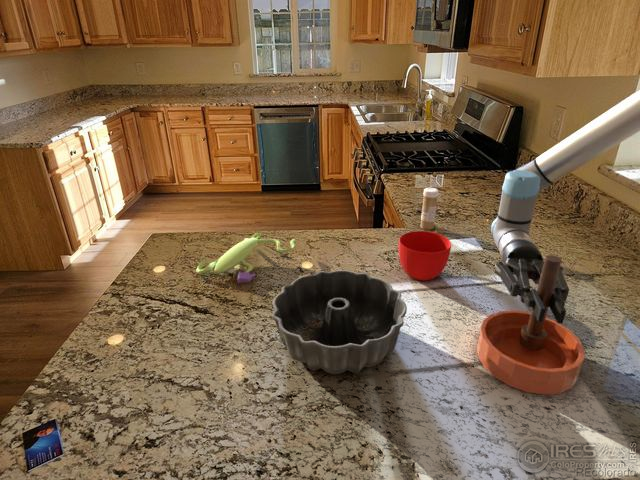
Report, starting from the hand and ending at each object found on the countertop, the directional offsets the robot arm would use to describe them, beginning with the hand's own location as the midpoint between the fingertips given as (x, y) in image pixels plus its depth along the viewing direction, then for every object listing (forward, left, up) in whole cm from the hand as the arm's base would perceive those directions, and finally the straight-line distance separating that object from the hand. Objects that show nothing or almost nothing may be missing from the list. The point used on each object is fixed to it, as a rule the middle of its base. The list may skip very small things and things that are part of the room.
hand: (551, 316), depth 74 cm
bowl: (+2, -2, -13) cm, 13 cm away
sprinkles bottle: (+38, -54, -13) cm, 67 cm away
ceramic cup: (+30, -26, -13) cm, 42 cm away
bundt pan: (+36, +11, -13) cm, 40 cm away
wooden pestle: (+2, -5, -10) cm, 12 cm away
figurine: (+74, -7, -13) cm, 75 cm away
